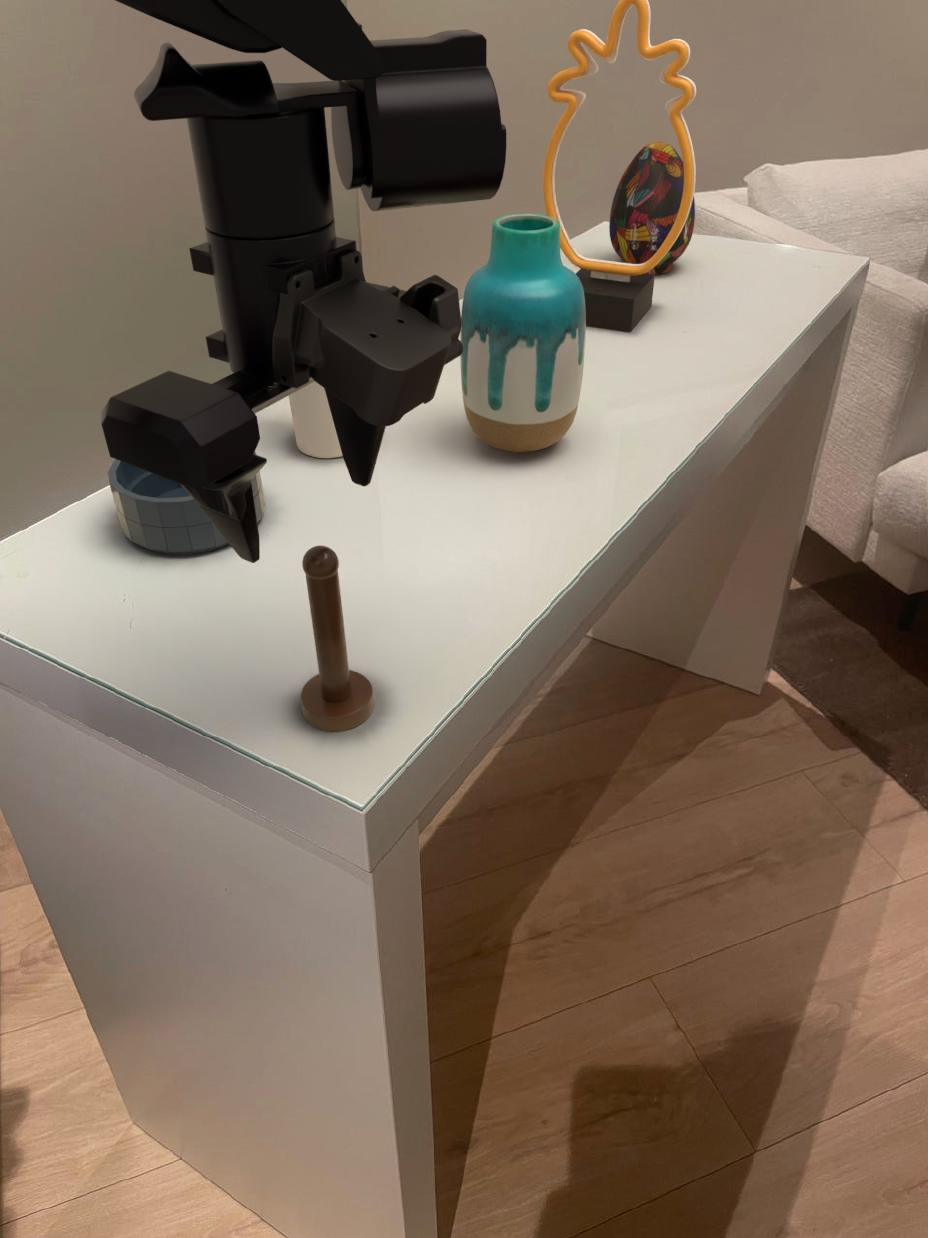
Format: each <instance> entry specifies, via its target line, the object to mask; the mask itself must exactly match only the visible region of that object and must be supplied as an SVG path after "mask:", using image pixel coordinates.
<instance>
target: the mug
mask: <svg viewBox="0 0 928 1238" xmlns="http://www.w3.org/2000/svg"><path fill="white" fill-rule="evenodd" d="M288 400H289V406H290V414H291V419H292V425H293V429H294V437H295V443H296V446H297V448H298V450H299V451H300V452H301V453H303V454H304V455H306V456H309V457H313V458H318V459H319V458H320V459H335V458H343V455H342V452H341V448H340V444H339V441H338V437H337V433H336V430H335V426H334V422H333V418H332V415H331V411H330V407H329V404H328V400H327V396H326V393H325V390H324V388H323V387H322V386H321V385H319V384H318V383H317V382H313V383H311V384H309V385H307V386H305V387H303V388H302V389H300V390H298V391H296V392H294V393H292V394H291V395H289V396H288Z"/></svg>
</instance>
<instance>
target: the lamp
mask: <svg viewBox="0 0 928 1238" xmlns="http://www.w3.org/2000/svg"><path fill="white" fill-rule="evenodd" d="M633 6H634V7H635V8H636V11H637V27H636V44H637V45H636V46H637V51H638V53H639V54H640V57H642V59H644V60H646V61H655V60H657V59H660V58H662V57H664V56H667V55H669V54H671V53H673V52H676V53H677V57H676V58H675V59H674V60H673V61H672V62H671V63H670V64H669V65H667V66H666V67H665V68H664V69H663V70H661V71H660V73H659V75H658V81H659V82H660V83H661V84H664V85H666V86H667V85H668V86H670V87H673V88H676V89H679V90H681V92H682V94H680V95H678V96H676V97H673V98H670V99H668V100H667V101H666V102H665V104H664V109H665V112H666V113H667V115H668V116H669V121H670V124H671V126H672V128H673V131H674V133H675V137H676V139H677V142H678V145H679V149H680V152H681V153H680V154H681V157H682V158H681V160H682V161H683V167H684V187H683V195H682V201H681V205H680V208H679V212H678V215H677V218H676V220H675V222H674V225H673V227H672V229H671V231H670V232H669V234H668V236H667V238H666V239H665V241H664V242H663V244H662V245H661V247H660V248H659V249H658V251H657V252H656V253H655V254H654V255H653V257H652V258H651V259H649V260H648V261H647V262H645V263H642V264H630V263H624V262H623V261H622V262H620V261H614V260H613V261H612V260H605V259H596V258H589V257H585V255H582V254H580V252H578V250H577V249H576V247H575V246H574V244H573V242H572V240H571V239H570V237H569V234H568V232H567V230H566V228H565V226H564V223H563V221H562V217H561V214H560V211H559V207H558V202H557V196H556V184H555V182H556V181H555V180H556V179H555V177H556V167H557V166H556V164H557V160H558V159H557V158H558V154H559V150H560V147H561V144H562V141H563V138H564V137H565V134H566V132H567V130H568V128H569V127H570V124H571V122H572V121H573V119H574V118H575V116H576V114H577V112H578V111H579V109H580V108H581V107H582V105H583V104H584V102H585V101H586V98H587V94H586V92H583V91H581V90H577V89H568V88H563V87H564V86H565V85H566V84H567V83H569V82H571V81H573V80H577V79H580V78H584V77H587V76H591V75H594V74H597V73H598V72H599V65H598V63H597V62H596V60H595V59H594V57H593V56H592V55H591V53H590V52H589V50H591V52H592V53H594V54H595V55H596V56H598V57H599V58H602V59H603V60H604V61H605V62H606V63H608V64H612V65H613V64H614V63H615V62H616V61H617V58H618V55H619V50H620V45H621V39H622V34H623V28H624V23H625V20H626V17H627V15H628V13H629V11H630V10H631V8H632V7H633ZM651 11H652V10H651V5H650V2H649V0H619V1H618V3H617V4H616V6H615V8H614V10H613V13H612V14H611V18H610V21H609V26H608V31H607V37H606V42H604V41H603V40H602V39H601V38H600V37H598V35H596V34H595V33H594V32H593V31H591V30H589V29H585V28H582V29H578V30H575V31H573V32H572V33H571V34H570V35H569V37H568V38H567V43H566V44H567V46H566V47H567V48H566V49H567V50H568V52H569V54H570V56H571V57H572V58H574V61H576V63H578V66H572V67H569V68H566V69H563V70H561V71H559V72H557V73H556V74H554V76H552V78H551V79H550V80H549V82H548V84H547V88H546V91H547V95H548V97H549V99H550V100H551V101H552V102H554V103H561V104H563V103H564V104H568V105H567V107H566V108H565V110H564V112H563V113H562V115H561V117H560V118H559V119H558V122H557V124H556V125H555V128H554V130H553V132H552V135H551V136H550V140H549V143H548V146H547V149H546V153H545V157H544V162H543V170H542V194H543V202H544V208H545V212H546V213H545V214H546V216H549V217H552V218H554V219H556V220H557V221H558V222H559V224H560V251H561V252H562V253H563V255H564V256H565V257H566V259H567V260H568V261H569V262H570V263H571V264H572V265H573V266H575V267H577V268H579V270H578V271H576V272H575V274H576V275H577V276H578V278H579V279H580V281H581V284H582V286H583V290H584V297H585V309H586V327H592V328H599V329H605V330H606V329H607V330H611V331H620V332H625V333H631V332H632V331H633V330H634V329H635V328H636V326H637V325H638V324H639V323H640V322H641V320H642V319H643V318H644V317H645V315H646V314H647V313H648V311H649V310H650V309H651V308H652V306H653V296H654V287H655V279H656V274H654V275H653V274H644V273H646V272H648V271H649V270H651V269H652V268H653V267H655V266H656V265H657V264H658V263H659V262H660V261H661V260H662V259H663V257H664V256H665V255H666V254H667V252H668V251H669V250H670V248H671V247H672V245H673V244H674V243H675V241H676V239H677V238H678V236H679V234H680V232H681V231H682V229H683V227H684V225H685V222H686V220H687V218H688V215H689V212H690V208H691V205H692V201H693V196H694V197H695V191H696V178H697V167H696V166H697V165H696V159H695V158H696V157H695V151H694V146H693V142H692V137H691V133H690V130H689V127H688V124H687V122H686V120H685V117H684V115H683V111H684V110H685V108H687V107H688V106H689V105H690V104H691V103H692V102H693V101H694V99H695V98H696V95H697V86H696V84H695V82H694V81H693V80H692V79H691V78H689V77H687V76H685V75H682V74H679V73H680V72H681V71H682V70H683V69H684V68H685V67H686V66H687V65H688V63H689V61H690V59H691V48H690V45H689V43H688V42H687V41H685V40H684V39H680V38H673V39H669V40H666V41H664V42H662V43H659V44H656V45H652V44H651V22H652V21H651V19H652V12H651ZM586 46H587V48H589V50H588V49H587V48H586Z"/></svg>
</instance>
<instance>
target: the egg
mask: <svg viewBox="0 0 928 1238" xmlns="http://www.w3.org/2000/svg"><path fill="white" fill-rule="evenodd" d="M683 187H684V167H683V159H682V158H681V155H679V153H678V151H677V150H676V149H675V147H673V146H672V145H670V144H669V143H667V142H663V141H654V142H651V143H648V144H645V146H643V147H642V148H641V149H640V150H639V151H638V152H637V153H636V155H635V156H634V157H633V158H632V159H631V161H630V163H629V164H628V165H627V167H626V168H625V170H624V172H623V173H622V176H621V177H620V180H619V182H618V184H617V187H616V189H615V192H614V196H613V199H612V203H611V208H610V212H609V213H610V214H609V223H608V224H609V225H608V228H609V229H608V230H609V231H608V232H609V239H610V243H611V246H612V248H613V250H614V252H615V254H616V255H617V256H618V258H619V259H620V260H621V261H622V263H630V264H642V263H645V262H647V261H648V260H649V259H651V258H652V257H653V255H654V254H655V253H656V252H657V251H658V249H659V248H660V247H661V245H662V244H663V242H664V241H665V239H666V238H667V236H668V234H669V232H670V231H671V229H672V227H673V225H674V222H675V220H676V218H677V215H678V212H679V208H680V205H681V201H682V195H683ZM695 201H696V200H695V195H694V196H693V201H692V205H691V208H690V212H689V215H688V218H687V220H686V222H685V225H684V227H683V229H682V231H681V232H680V234H679V236H678V238H677V239H676V241H675V243H674V244H673V245H672V247H671V248H670V250H669V251H668V252H667V254H666V255H665V256H664V257H663V259H662V260H661V261H660V262H659V263H658V264H657V265H656V266H655V267H653V268H652V269H651V270H649V271H648V272H646V273H644V274H652V275H658V276H659V275H662V274H665V273H669V271H671V270H672V269H673V265H674V263H675V262H676V261H677V260H679V258H681V256H682V255H683V253H685V251H686V250H687V248H688V247H689V245H690V243H691V241H692V237H693V233H694V228H695V222H696V221H695V220H696V203H695Z"/></svg>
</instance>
